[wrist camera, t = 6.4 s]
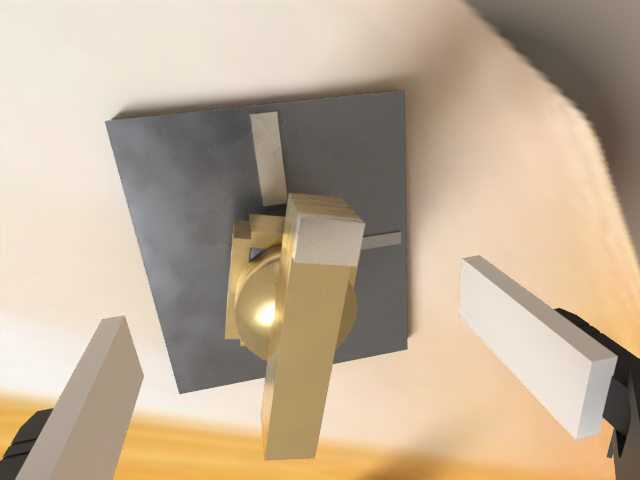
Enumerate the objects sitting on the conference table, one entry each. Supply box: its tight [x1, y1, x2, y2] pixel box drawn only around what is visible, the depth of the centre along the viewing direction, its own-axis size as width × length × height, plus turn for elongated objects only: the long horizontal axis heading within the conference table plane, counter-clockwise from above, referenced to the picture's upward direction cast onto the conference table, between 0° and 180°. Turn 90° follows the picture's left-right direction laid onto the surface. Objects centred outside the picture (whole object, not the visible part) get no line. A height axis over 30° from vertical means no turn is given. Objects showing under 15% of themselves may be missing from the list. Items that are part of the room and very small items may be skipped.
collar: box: [225, 193, 365, 460], centre depth 24 cm, size 8×14×10 cm, turn 171°
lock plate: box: [105, 90, 407, 394], centre depth 29 cm, size 22×20×7 cm
